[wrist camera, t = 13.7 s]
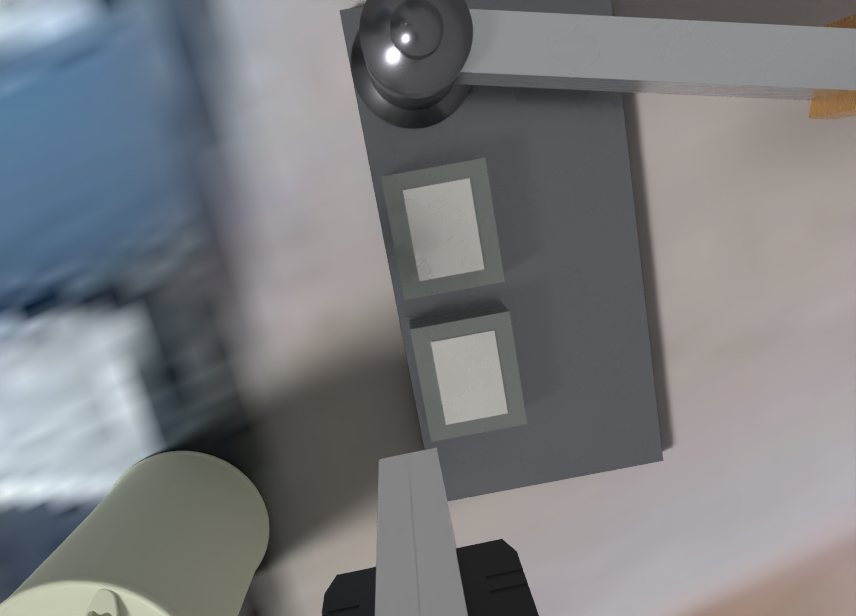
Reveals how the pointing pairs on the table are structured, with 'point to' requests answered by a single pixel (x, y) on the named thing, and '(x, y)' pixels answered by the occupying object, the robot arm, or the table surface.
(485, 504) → the table surface
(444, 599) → the robot arm
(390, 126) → the tray
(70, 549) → the can
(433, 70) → the swing arm
